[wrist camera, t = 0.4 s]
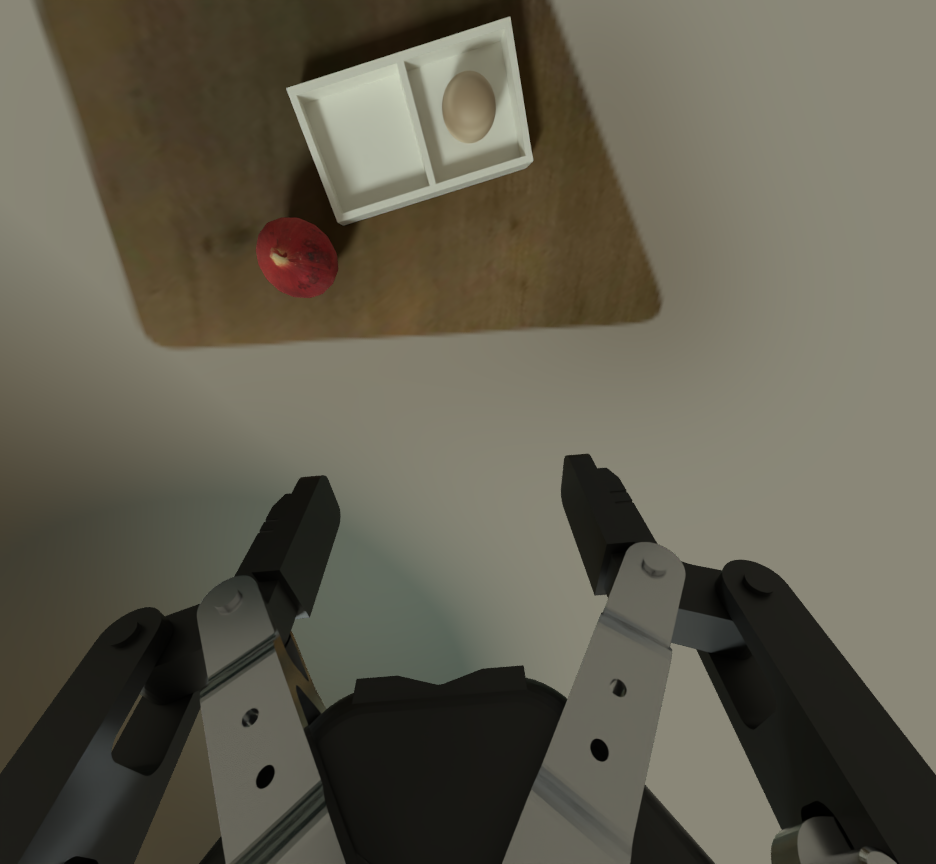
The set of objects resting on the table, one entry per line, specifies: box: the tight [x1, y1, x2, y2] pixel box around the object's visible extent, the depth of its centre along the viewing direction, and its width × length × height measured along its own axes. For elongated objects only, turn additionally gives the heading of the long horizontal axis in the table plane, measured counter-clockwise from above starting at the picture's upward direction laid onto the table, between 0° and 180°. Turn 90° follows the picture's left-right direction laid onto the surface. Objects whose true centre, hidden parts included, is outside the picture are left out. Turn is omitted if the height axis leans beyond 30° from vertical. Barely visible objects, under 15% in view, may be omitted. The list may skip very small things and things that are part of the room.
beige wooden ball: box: [442, 71, 496, 143], centre depth 26 cm, size 4×4×4 cm
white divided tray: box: [286, 17, 533, 226], centre depth 28 cm, size 8×16×2 cm, turn 105°
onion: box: [256, 218, 338, 298], centre depth 28 cm, size 6×6×8 cm
